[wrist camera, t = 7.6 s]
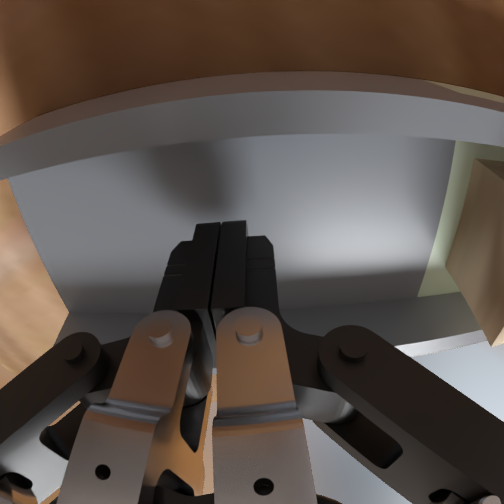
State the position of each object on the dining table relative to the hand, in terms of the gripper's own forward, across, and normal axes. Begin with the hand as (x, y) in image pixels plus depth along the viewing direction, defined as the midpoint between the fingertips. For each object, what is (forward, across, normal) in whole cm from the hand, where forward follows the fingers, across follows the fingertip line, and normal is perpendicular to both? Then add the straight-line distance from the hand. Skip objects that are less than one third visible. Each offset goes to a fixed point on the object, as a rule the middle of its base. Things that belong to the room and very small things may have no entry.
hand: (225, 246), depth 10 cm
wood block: (+1, -12, 0) cm, 12 cm away
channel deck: (+4, -8, 0) cm, 9 cm away
